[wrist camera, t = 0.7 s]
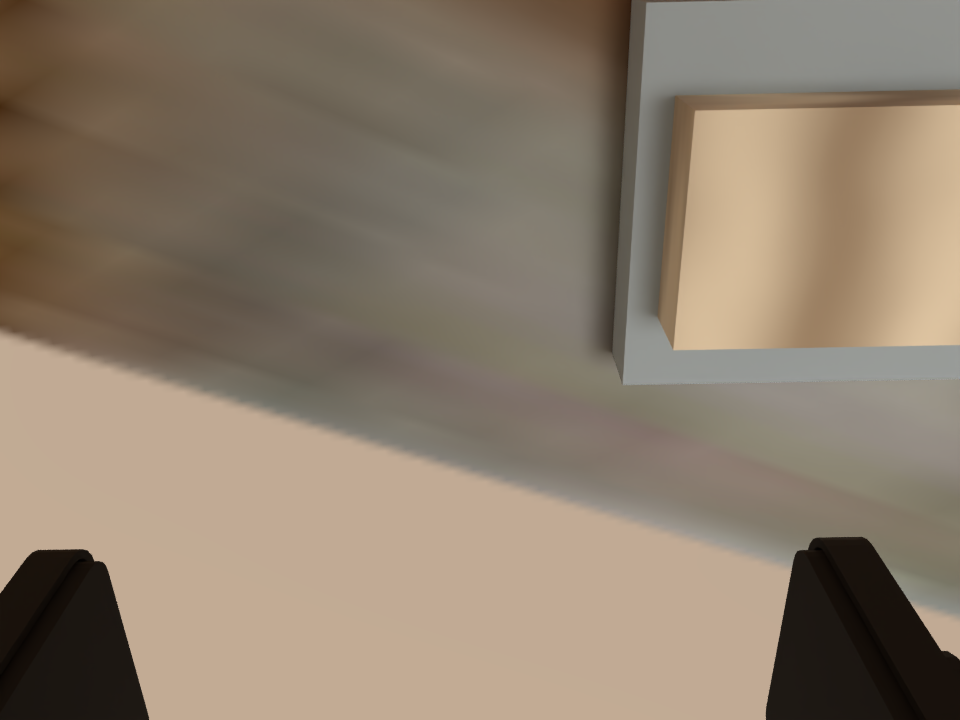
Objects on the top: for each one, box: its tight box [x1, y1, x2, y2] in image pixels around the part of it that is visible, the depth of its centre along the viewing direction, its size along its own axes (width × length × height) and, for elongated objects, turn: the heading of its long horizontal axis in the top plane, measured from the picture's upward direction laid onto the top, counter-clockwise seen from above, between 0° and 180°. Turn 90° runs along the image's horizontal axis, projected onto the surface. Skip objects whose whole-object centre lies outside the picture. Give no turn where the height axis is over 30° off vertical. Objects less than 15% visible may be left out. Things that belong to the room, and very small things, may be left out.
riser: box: [612, 0, 960, 385], centre depth 27 cm, size 14×12×2 cm
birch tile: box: [657, 89, 960, 350], centre depth 25 cm, size 10×7×2 cm
